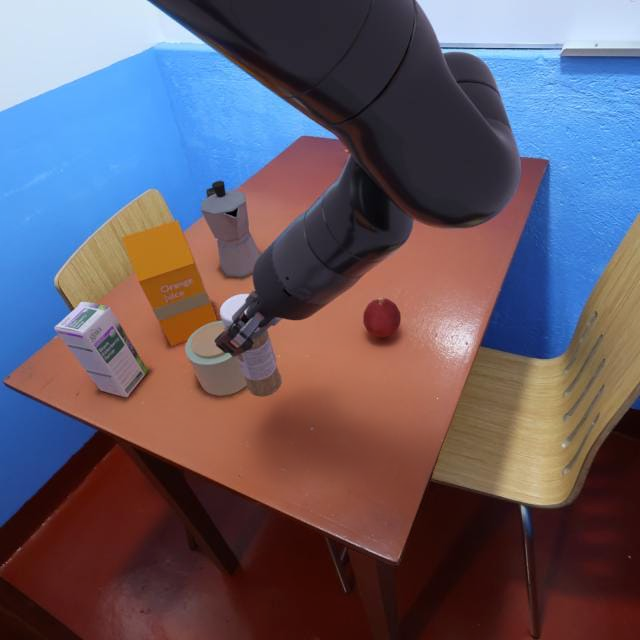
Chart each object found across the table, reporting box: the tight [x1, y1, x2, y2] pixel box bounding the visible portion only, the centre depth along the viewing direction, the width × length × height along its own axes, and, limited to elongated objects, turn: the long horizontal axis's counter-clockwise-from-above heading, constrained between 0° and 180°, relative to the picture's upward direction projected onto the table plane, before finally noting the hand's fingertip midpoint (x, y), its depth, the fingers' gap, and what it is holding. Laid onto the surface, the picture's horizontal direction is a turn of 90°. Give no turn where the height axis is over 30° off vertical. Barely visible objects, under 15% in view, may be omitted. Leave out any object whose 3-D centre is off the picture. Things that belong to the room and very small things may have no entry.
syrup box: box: [53, 301, 149, 398], centre depth 71 cm, size 6×6×14 cm
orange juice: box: [121, 219, 218, 347], centre depth 77 cm, size 8×9×20 cm
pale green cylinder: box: [184, 320, 247, 397], centre depth 72 cm, size 9×9×8 cm
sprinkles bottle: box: [219, 293, 283, 398], centre depth 56 cm, size 5×5×14 cm
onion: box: [362, 297, 402, 338], centre depth 73 cm, size 6×6×8 cm
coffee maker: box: [200, 180, 262, 279], centre depth 90 cm, size 15×9×18 cm, turn 31°
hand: (235, 330), depth 55 cm, fingers closed on sprinkles bottle, 4 cm apart
